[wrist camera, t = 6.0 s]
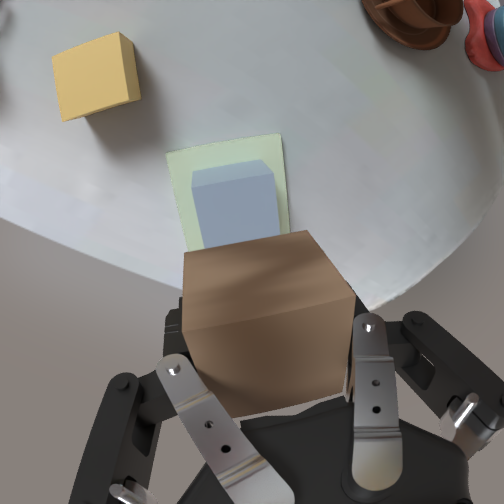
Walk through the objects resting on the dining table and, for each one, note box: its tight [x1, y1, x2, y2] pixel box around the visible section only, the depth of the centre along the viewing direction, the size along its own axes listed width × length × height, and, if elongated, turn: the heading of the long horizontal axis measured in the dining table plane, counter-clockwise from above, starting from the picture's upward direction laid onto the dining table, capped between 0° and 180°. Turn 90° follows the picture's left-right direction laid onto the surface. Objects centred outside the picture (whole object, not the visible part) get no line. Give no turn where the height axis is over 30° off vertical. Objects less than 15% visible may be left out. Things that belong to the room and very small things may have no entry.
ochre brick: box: [52, 32, 141, 122], centre depth 19 cm, size 6×6×5 cm
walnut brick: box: [182, 230, 356, 418], centre depth 13 cm, size 6×6×5 cm
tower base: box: [166, 133, 290, 252], centre depth 25 cm, size 10×10×6 cm
